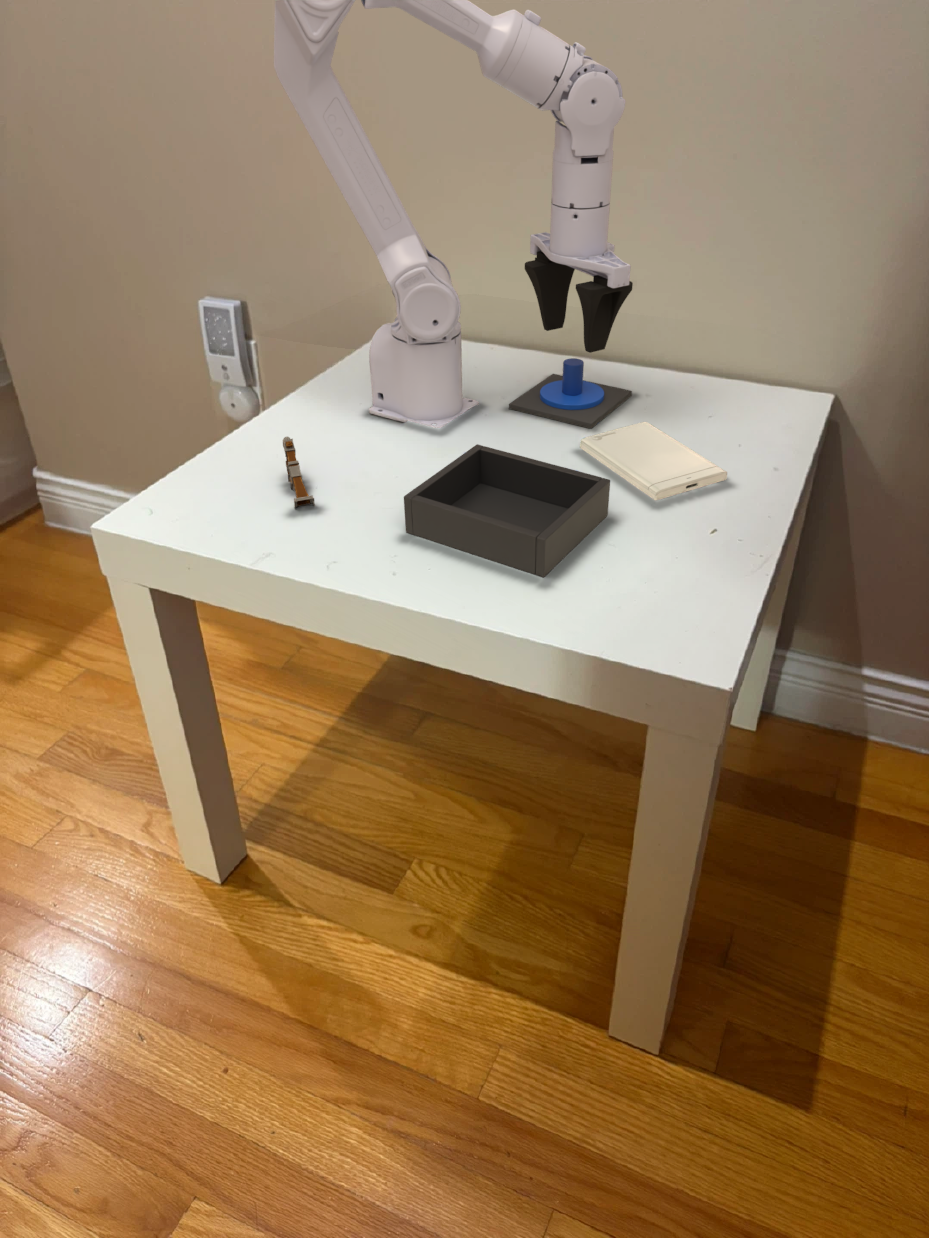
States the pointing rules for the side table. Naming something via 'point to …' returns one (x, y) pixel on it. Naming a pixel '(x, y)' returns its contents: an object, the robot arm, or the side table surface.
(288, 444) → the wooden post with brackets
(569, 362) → the lid
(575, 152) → the robot arm
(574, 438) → the side table surface
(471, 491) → the tray
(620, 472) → the hard drive
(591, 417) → the mat
